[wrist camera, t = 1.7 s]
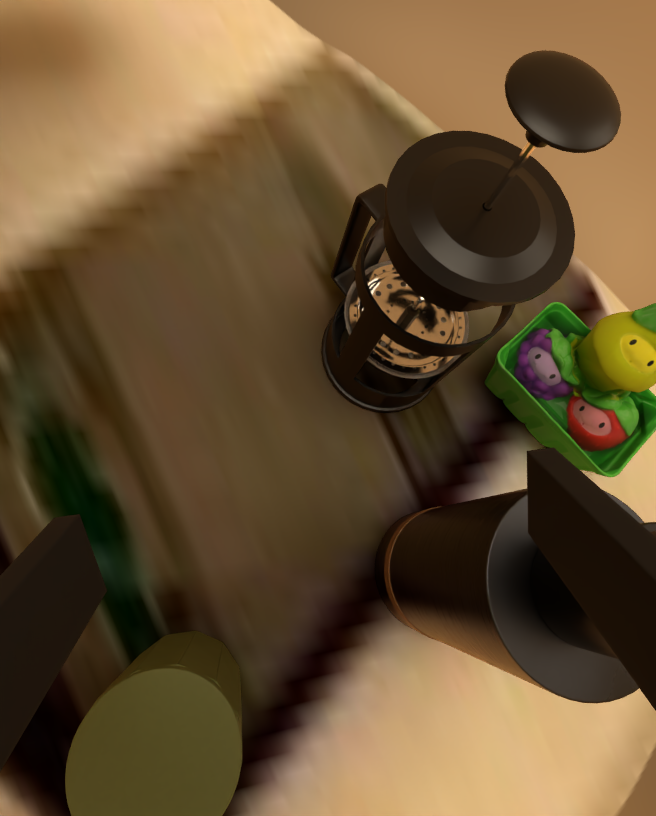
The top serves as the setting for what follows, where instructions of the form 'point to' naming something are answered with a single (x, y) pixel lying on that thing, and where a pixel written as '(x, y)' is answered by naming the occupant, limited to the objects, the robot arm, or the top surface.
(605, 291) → the top surface
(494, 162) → the french press
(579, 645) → the flask
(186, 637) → the olive tea canister
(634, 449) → the fruit basket
